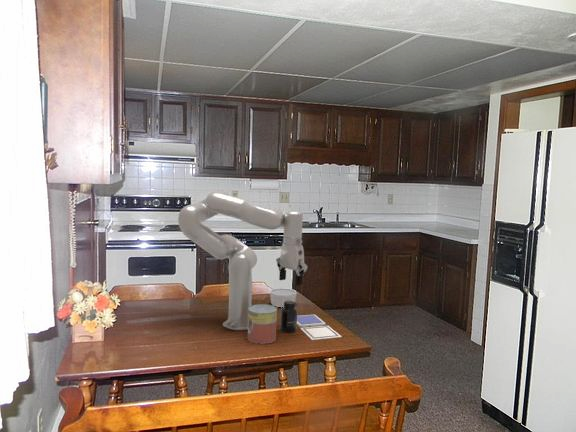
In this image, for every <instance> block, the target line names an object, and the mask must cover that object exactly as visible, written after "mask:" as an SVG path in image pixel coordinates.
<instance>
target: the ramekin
mask: <svg viewBox="0 0 576 432" xmlns="http://www.w3.org/2000/svg"><path fill="white" fill-rule="evenodd" d="M297 294H298V292H297V291H296V290H295V289H292V288H287V287H281V288H279V287H278V288H273V289H270V292H269V295H270V303H271V304H270V305H272V306H276V308H278V307H281V308H280V309H282V307H283V308H284V302H285V301H294V302H295V303H296V299H297Z"/></svg>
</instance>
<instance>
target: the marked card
mask: <svg viewBox="0 0 576 432" xmlns="http://www.w3.org/2000/svg"><path fill="white" fill-rule="evenodd" d="M299 329H300V330H301V331H302V332H303V333H304V334H305V335H306V336H307V337H308V338H309V339H310V340H311V341H317V340H319V341H320V340H327V339H338V338H342V335H340V334H339V333H338V332H337V331H336V330H334V328H332V327H330V325H321V326H310V327H299Z"/></svg>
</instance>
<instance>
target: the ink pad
mask: <svg viewBox="0 0 576 432" xmlns="http://www.w3.org/2000/svg"><path fill="white" fill-rule="evenodd" d="M297 326H298V328H306V327H309V326H310V327H317V326H327V325H326V322H325V321H323V320H322V318H320V317H318V315H316V314H305V315H297Z"/></svg>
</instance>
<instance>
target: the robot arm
mask: <svg viewBox="0 0 576 432" xmlns="http://www.w3.org/2000/svg"><path fill="white" fill-rule="evenodd" d="M219 214H220V215H223V216H227V217H230V218H234V219H238V220H240V221H242V222H245V223H247V224H250V225H253V226H255V227H258V228H263V229H264V230H265V229H266V230H270V231H271V230H273V231H274V230H277V229H278V228H282V227H283V239H282V244H281V250H280V255H279V256H280V257H278V258H276V259H275V260H276V265H277V269H278V271H279V277H278V278H279V281H284V280H287V270H286V269H288V270H291V271H295V273H296V276H295V286H301V285H303V278H304V277H303V276H304V275H305V274H306V272H307V270H308V265H307V264H306V263H305V249H304V246H303V245H302V244H303V241H304V240H302V239H303V238H302V237H303V223H304V222H303V219H304V218H303V213H302V212H301V211H298V210H282V209H277V208H275V209H271V210H270V209H266V208H264V207H263V208H262V207H259V206H256V205H254V204H252V203H250V202H249V201H248V200H247V199H244V198H240V197H237V196H233V195H229V194H228V193H227V192H225V191H224V190H223V191H222V190H219V191H218V190H217V191H212V192H210V193H209V194H208V195H207V196H206V197H205V199H203V200H201V201H199V202H197V203H192V204H188V205H186V206H183V207H182V208H181V209H180V211H179V213H178V219H177V220H178V221H177V222H178V226H179V228H180V231H181V232H182V234H183V235H184V236H185V237H186V238H188V239H189V240H190V241H191V242H192V243H195V244H196V245H197V246H199V247H200V248H201V249H202V250H204V251H205V252H207V253H208V254H209V255H211V256H212V257H213V258H215V259H217V260H224V259H226V258H227V259H228V260H229V262H228V282H229V283H228V284H229V285H228V316H227V319H226V320H225V321H224V322H222V326H223V327H224V328H225V329H228V330H233V331H248V311H249V310H248V308H249V307H250V306H252V302H253V300H252V296H253V294H252V293H253V275H252V271H253V268H254V267H255V266H256V265H257V262H258V256H257V253H256V252H255V251H254V250H253V249H252V248H251V247H249V246H248V245H246V244H245V243H243V242H242V241H240V240H239V239H238V238H237V237H234V236H232V235H230V234H221V235H220V234H218V233H217V232H215V231H214V230H213V229H211V228H210V227H208V226H206V225H204V224H203V222H206V221H207V220H209V219H211V218H213V217H215V216H217V215H219Z"/></svg>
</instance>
